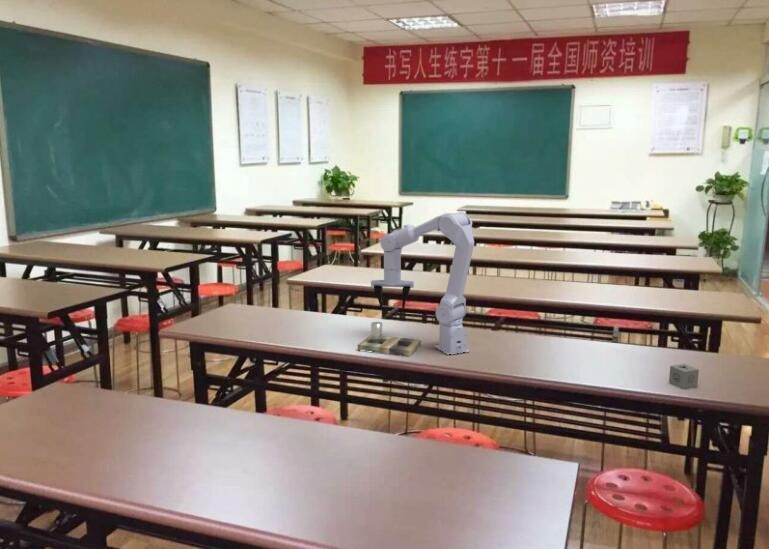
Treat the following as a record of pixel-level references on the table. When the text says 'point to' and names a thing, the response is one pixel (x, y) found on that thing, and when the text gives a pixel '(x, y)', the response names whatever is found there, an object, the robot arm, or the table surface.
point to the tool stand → (391, 345)
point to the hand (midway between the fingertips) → (392, 307)
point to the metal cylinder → (376, 332)
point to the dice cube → (683, 376)
